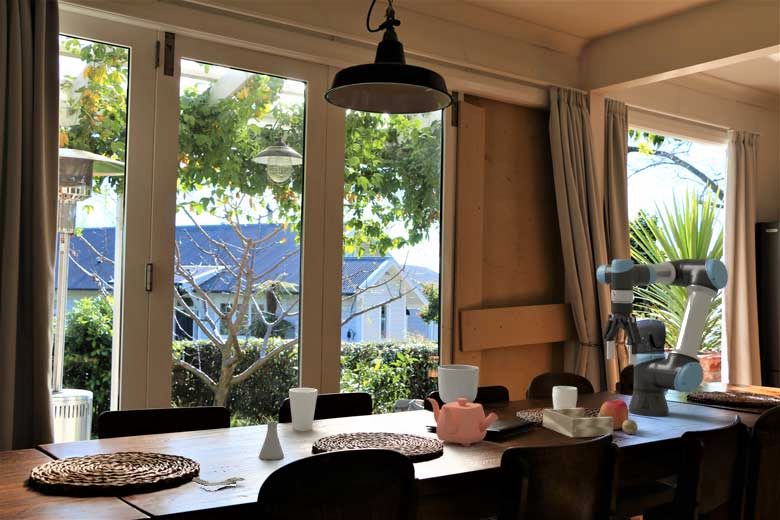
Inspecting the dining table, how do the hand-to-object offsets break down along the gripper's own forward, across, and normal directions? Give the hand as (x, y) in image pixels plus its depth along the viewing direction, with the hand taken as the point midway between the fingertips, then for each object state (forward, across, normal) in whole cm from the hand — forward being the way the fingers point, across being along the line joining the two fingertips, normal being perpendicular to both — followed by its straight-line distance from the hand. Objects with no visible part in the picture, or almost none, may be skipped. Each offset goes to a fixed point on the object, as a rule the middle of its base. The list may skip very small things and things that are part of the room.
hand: (621, 361), depth 275 cm
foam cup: (+22, -17, -112) cm, 116 cm away
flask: (+22, +21, -128) cm, 132 cm away
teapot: (+22, +13, -68) cm, 72 cm away
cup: (+23, -15, -14) cm, 31 cm away
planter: (+23, -53, -42) cm, 71 cm away
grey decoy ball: (+23, -6, -3) cm, 24 cm away
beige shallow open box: (+23, +4, -20) cm, 31 cm away
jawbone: (+22, +41, -146) cm, 154 cm away
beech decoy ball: (+23, +12, -5) cm, 27 cm away
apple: (+24, +3, -5) cm, 24 cm away
